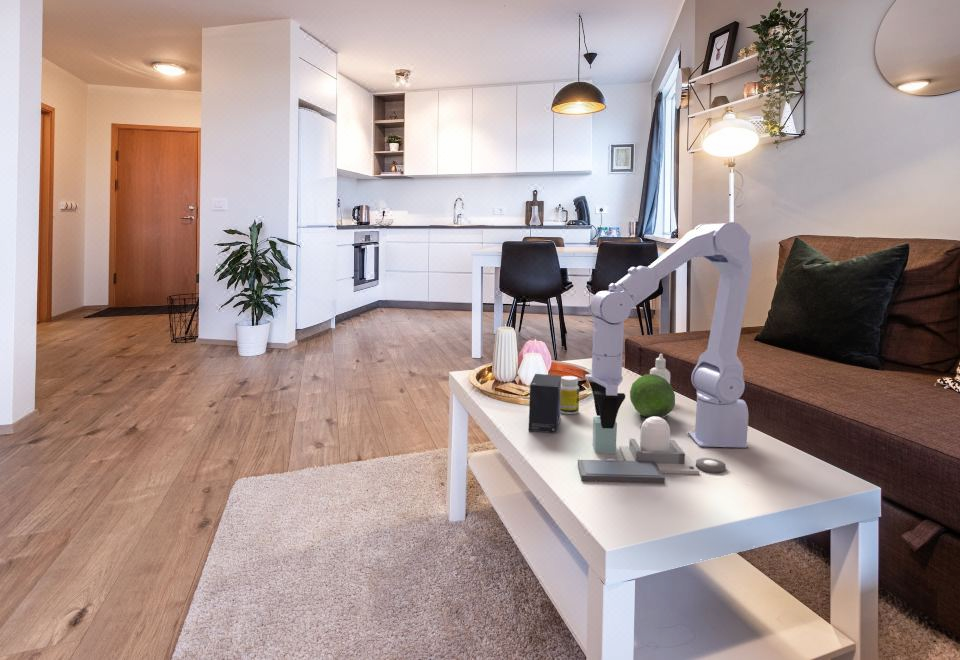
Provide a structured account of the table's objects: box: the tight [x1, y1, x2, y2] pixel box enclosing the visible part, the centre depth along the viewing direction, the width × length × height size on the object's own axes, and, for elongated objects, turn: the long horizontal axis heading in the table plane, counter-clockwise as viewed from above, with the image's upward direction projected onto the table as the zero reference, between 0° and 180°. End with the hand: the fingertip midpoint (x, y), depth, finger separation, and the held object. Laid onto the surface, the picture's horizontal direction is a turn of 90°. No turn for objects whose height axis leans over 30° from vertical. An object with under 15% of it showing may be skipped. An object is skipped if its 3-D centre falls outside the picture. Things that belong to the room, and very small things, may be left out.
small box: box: [528, 373, 562, 434], centre depth 127 cm, size 11×6×10 cm, turn 168°
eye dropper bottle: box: [649, 353, 671, 385], centre depth 146 cm, size 4×6×12 cm
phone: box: [577, 458, 666, 484], centre depth 101 cm, size 14×7×1 cm, turn 86°
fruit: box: [629, 373, 676, 419], centre depth 134 cm, size 15×10×10 cm, turn 172°
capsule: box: [639, 416, 671, 452], centre depth 108 cm, size 5×5×8 cm
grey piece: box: [618, 438, 700, 475], centre depth 107 cm, size 12×12×2 cm
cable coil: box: [695, 457, 727, 474], centre depth 104 cm, size 5×5×1 cm
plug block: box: [592, 416, 618, 454], centre depth 112 cm, size 4×4×7 cm
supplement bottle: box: [560, 375, 580, 415], centre depth 136 cm, size 5×5×8 cm
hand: (604, 421), depth 112 cm, fingers open, 7 cm apart
